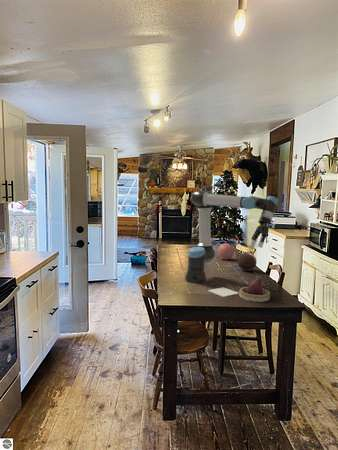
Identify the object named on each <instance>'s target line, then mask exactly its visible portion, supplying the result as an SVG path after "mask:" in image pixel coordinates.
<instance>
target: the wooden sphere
mask: <svg viewBox="0 0 338 450" xmlns="http://www.w3.org/2000/svg"><path fill="white" fill-rule="evenodd" d="M237 264H238V267H239V268H240V269H241V270H243V271H245V272H249V271H253V269H255V267H256V266H257V258H256V256H255V255H254V254H253V253H250V252H243V253H241V254H240V255H239V256H238V258H237Z"/></svg>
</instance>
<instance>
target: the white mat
mask: <svg viewBox="0 0 338 450" xmlns="http://www.w3.org/2000/svg"><path fill="white" fill-rule="evenodd" d="M207 292H210V293H212V294H214V295H217V296H220V297H222V298H225V297H226V298H227V297H230V296H231V297H232V296H235V295H239V292H238V291H235V290H233V289H229V288H226V287H224V286H222V287H217V288H213V289H208V290H207Z"/></svg>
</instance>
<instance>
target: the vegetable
mask: <svg viewBox="0 0 338 450" xmlns="http://www.w3.org/2000/svg"><path fill="white" fill-rule="evenodd" d="M247 287H248V289H247V292H246V293H247V294H252V295H263V290H262V289H263V286H262V278H261V276H258V277H256V278H255V279H254V280H252V281H251V282H250V283H249V285H248V286H247Z"/></svg>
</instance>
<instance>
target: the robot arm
mask: <svg viewBox="0 0 338 450" xmlns="http://www.w3.org/2000/svg"><path fill="white" fill-rule="evenodd" d="M190 201H191V203H192V204H193V205H194V206H196V209H197V210H198V240H199V243H197V245H196V246H193V247H190V248H189V249H188V253H187V254H188V258H187V262H188V263H187V269H186V270H187V271H186V275H185V276H184V280H185V281H186V282H188V283H192V284H193V283H195V284H201V283H206V281H207V276H206V271H205V264H207V263H210V262H212V261H213V260H214V259H215V257H216V256H215V255H216V251H215V249H214V247H213V246H214V244H213V243H212V241H211V239H212V237H211V235H212V234H211V210H212V209H213V206H219V207H229V208H238V209H246V210H252V209H258V210H262V211H261V214H260V217H259V219H258V224H259V226H257V227H256V229H255V231H254V233H253V235H251V242H250V245H249V247H248V249H250V250H251V251H254V248H255V246H256V244H257V242H258V244H257V247H259V248H260V249H262V248H263V245H264V243H265V241H266V238H267V237H268V236H269V230H270V229H269V228H270V225H271V222H272V220H273V218H274V214H275V212H276V210H277V207H278V202H279V199H278V198H277V196H276V197H275V196H272V195H268V196H267V197H266V198H262V197H259V196H257V197H256V196H252V195H249V196H241V195H240V196H239V195H228V194H217V193H213V192H212V191H210V190H207V189H197V190H194V191H193V192H192V193H191V196H190ZM259 236H260V238H259ZM258 238H259V241H257V240H258Z"/></svg>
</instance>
